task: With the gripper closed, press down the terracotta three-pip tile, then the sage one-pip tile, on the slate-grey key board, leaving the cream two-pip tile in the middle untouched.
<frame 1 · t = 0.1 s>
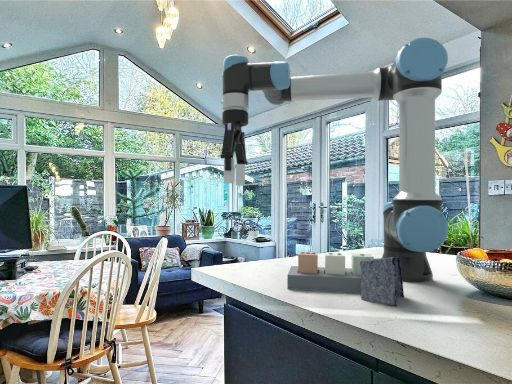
hand: (234, 184, 100), 28 cm above the counter, fingers open, 13 cm apart
tile two: (334, 263, 92), point 7 cm above the counter, slide at 0.0 cm
stone: (381, 304, 80), on the counter
tile three: (308, 262, 93), point 7 cm above the counter, slide at 0.0 cm
tile one: (362, 264, 91), point 7 cm above the counter, slide at 0.0 cm
key board: (334, 289, 92), on the counter
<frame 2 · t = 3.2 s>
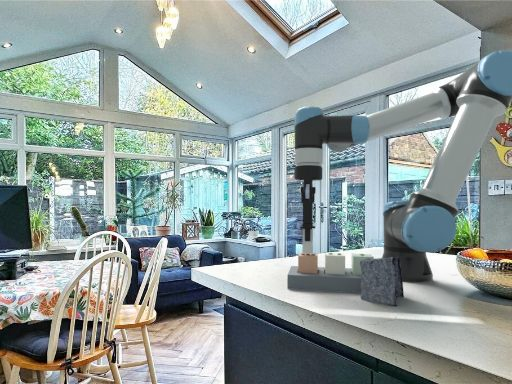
hand: (307, 253, 93), 9 cm above the counter, fingers closed
tile three: (308, 263, 93), point 6 cm above the counter, slide at 0.4 cm, touching gripper
everything else where it was.
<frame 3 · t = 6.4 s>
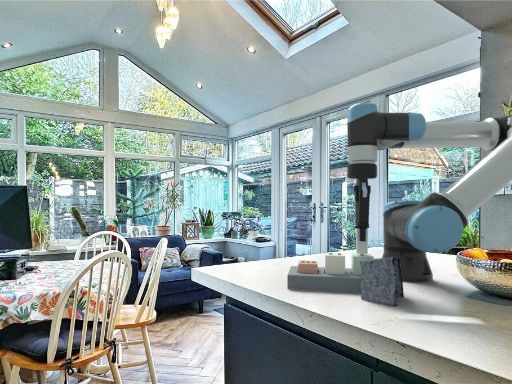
hand: (361, 253, 91), 10 cm above the counter, fingers closed
tile three: (308, 271, 93), point 4 cm above the counter, slide at 2.4 cm
tile one: (362, 264, 91), point 7 cm above the counter, slide at 0.0 cm, touching gripper
everything else where it was.
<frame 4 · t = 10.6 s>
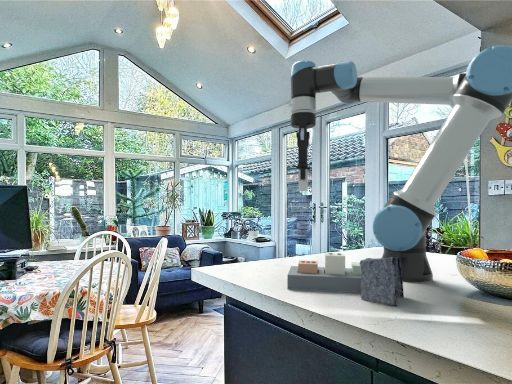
hand: (303, 190, 106), 26 cm above the counter, fingers closed
tile one: (362, 273, 90), point 4 cm above the counter, slide at 2.4 cm
everything else where it was.
at the end: tile three slide at 2.4 cm; tile one slide at 2.4 cm; tile two slide at 0.0 cm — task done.
